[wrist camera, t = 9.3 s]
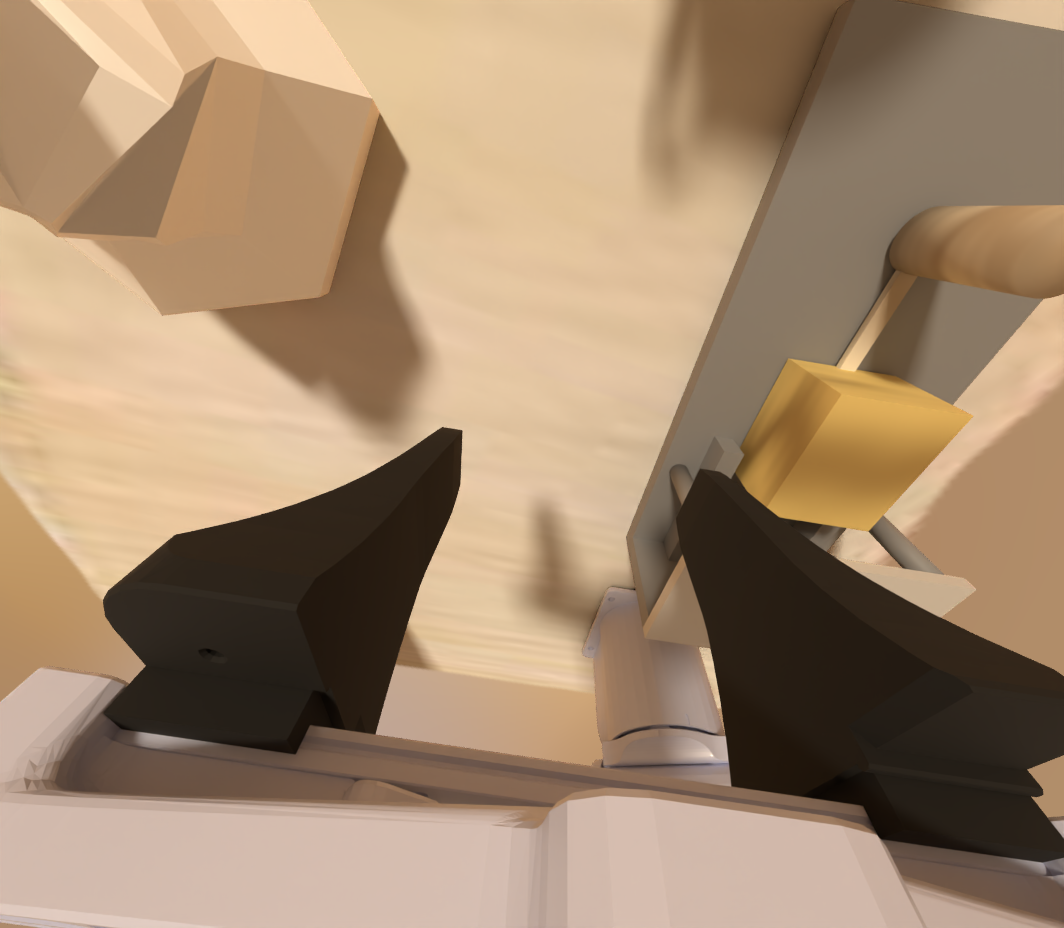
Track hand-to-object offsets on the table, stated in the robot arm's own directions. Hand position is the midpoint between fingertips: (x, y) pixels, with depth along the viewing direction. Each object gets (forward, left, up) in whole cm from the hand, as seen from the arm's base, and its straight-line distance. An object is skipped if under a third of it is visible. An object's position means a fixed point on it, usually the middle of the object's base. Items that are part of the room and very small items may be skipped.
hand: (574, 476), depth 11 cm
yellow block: (+3, -12, -8) cm, 15 cm away
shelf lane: (+1, -12, -9) cm, 15 cm away
